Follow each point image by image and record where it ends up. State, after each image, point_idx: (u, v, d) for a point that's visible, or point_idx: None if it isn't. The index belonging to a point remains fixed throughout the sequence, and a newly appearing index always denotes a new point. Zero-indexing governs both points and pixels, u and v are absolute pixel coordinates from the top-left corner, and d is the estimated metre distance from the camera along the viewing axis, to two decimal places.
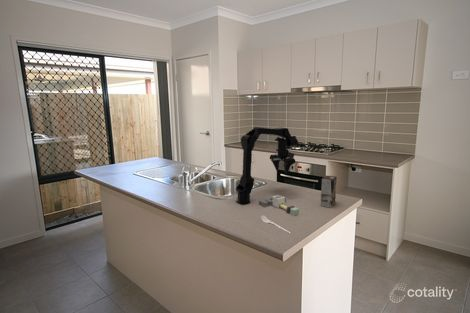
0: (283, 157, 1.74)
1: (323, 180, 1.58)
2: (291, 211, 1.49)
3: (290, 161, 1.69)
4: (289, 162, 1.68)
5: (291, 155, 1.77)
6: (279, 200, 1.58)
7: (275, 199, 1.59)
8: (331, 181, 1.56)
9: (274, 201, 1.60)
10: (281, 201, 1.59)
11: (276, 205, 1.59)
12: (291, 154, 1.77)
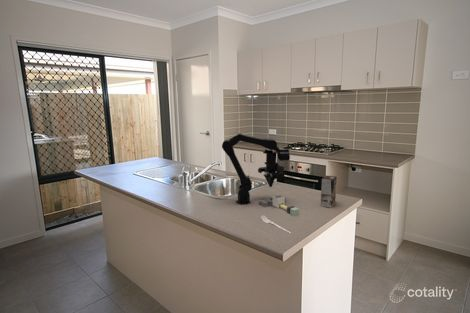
0: (272, 171, 1.61)
1: (323, 180, 1.58)
2: (291, 211, 1.49)
3: (279, 176, 1.56)
4: (278, 177, 1.56)
5: (281, 168, 1.65)
6: (279, 200, 1.58)
7: (275, 199, 1.59)
8: (331, 181, 1.56)
9: (274, 201, 1.60)
10: (281, 201, 1.59)
11: (276, 205, 1.59)
12: (281, 167, 1.65)
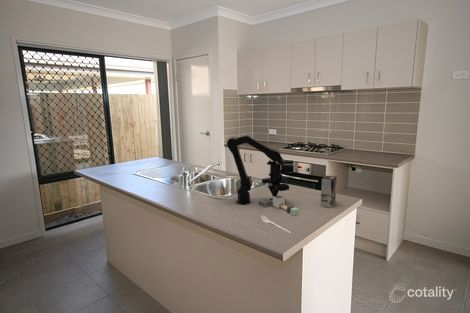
0: (276, 182, 1.59)
1: (323, 180, 1.58)
2: (291, 211, 1.49)
3: (283, 188, 1.54)
4: (282, 189, 1.54)
5: (285, 180, 1.63)
6: (279, 200, 1.58)
7: (275, 199, 1.59)
8: (331, 181, 1.56)
9: (274, 201, 1.60)
10: (281, 201, 1.59)
11: (276, 205, 1.59)
12: (285, 179, 1.62)
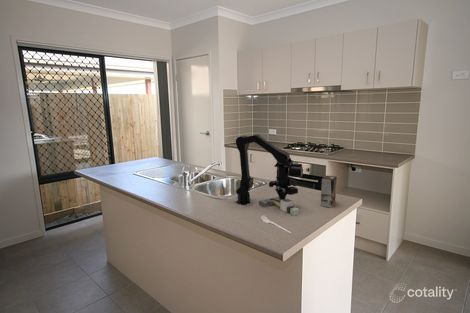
0: (284, 186, 1.53)
1: (323, 180, 1.58)
2: (291, 211, 1.49)
3: (292, 191, 1.48)
4: (291, 192, 1.47)
5: (293, 183, 1.56)
6: (287, 204, 1.52)
7: (283, 203, 1.53)
8: (331, 181, 1.56)
9: (282, 205, 1.54)
10: (289, 205, 1.53)
11: (284, 209, 1.53)
12: (293, 182, 1.56)
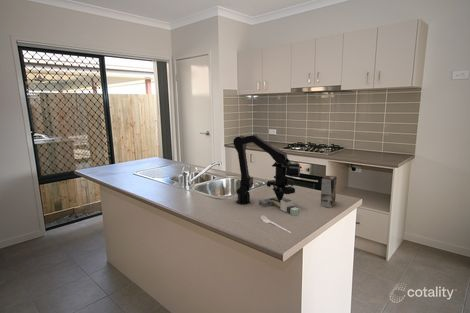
0: (281, 185, 1.55)
1: (323, 180, 1.58)
2: (291, 211, 1.49)
3: (289, 191, 1.49)
4: (288, 192, 1.49)
5: (290, 183, 1.58)
6: (287, 204, 1.52)
7: (283, 203, 1.53)
8: (331, 181, 1.56)
9: (282, 205, 1.54)
10: (289, 205, 1.53)
11: (284, 209, 1.53)
12: (290, 181, 1.58)
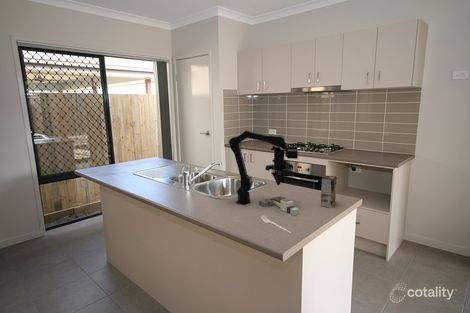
0: (280, 168, 1.57)
1: (323, 180, 1.58)
2: (291, 211, 1.49)
3: (287, 173, 1.51)
4: (286, 175, 1.51)
5: (289, 166, 1.60)
6: (287, 204, 1.52)
7: (283, 203, 1.53)
8: (331, 181, 1.56)
9: (282, 205, 1.54)
10: (289, 205, 1.53)
11: (284, 209, 1.53)
12: (289, 165, 1.60)
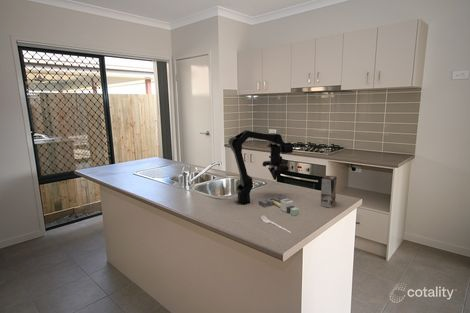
0: (276, 164, 1.67)
1: (323, 180, 1.58)
2: (291, 211, 1.49)
3: (283, 168, 1.62)
4: (282, 169, 1.62)
5: (284, 162, 1.70)
6: (287, 204, 1.52)
7: (283, 203, 1.53)
8: (331, 181, 1.56)
9: (282, 205, 1.54)
10: (289, 205, 1.53)
11: (284, 209, 1.53)
12: (284, 161, 1.70)
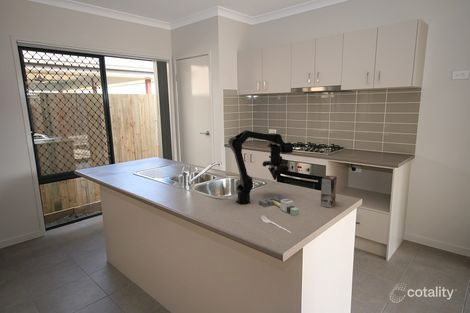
0: (276, 164, 1.67)
1: (323, 180, 1.58)
2: (291, 211, 1.49)
3: (283, 168, 1.62)
4: (282, 169, 1.62)
5: (284, 162, 1.71)
6: (287, 204, 1.52)
7: (283, 203, 1.53)
8: (331, 181, 1.56)
9: (282, 205, 1.54)
10: (289, 205, 1.53)
11: (284, 209, 1.53)
12: (284, 161, 1.70)
